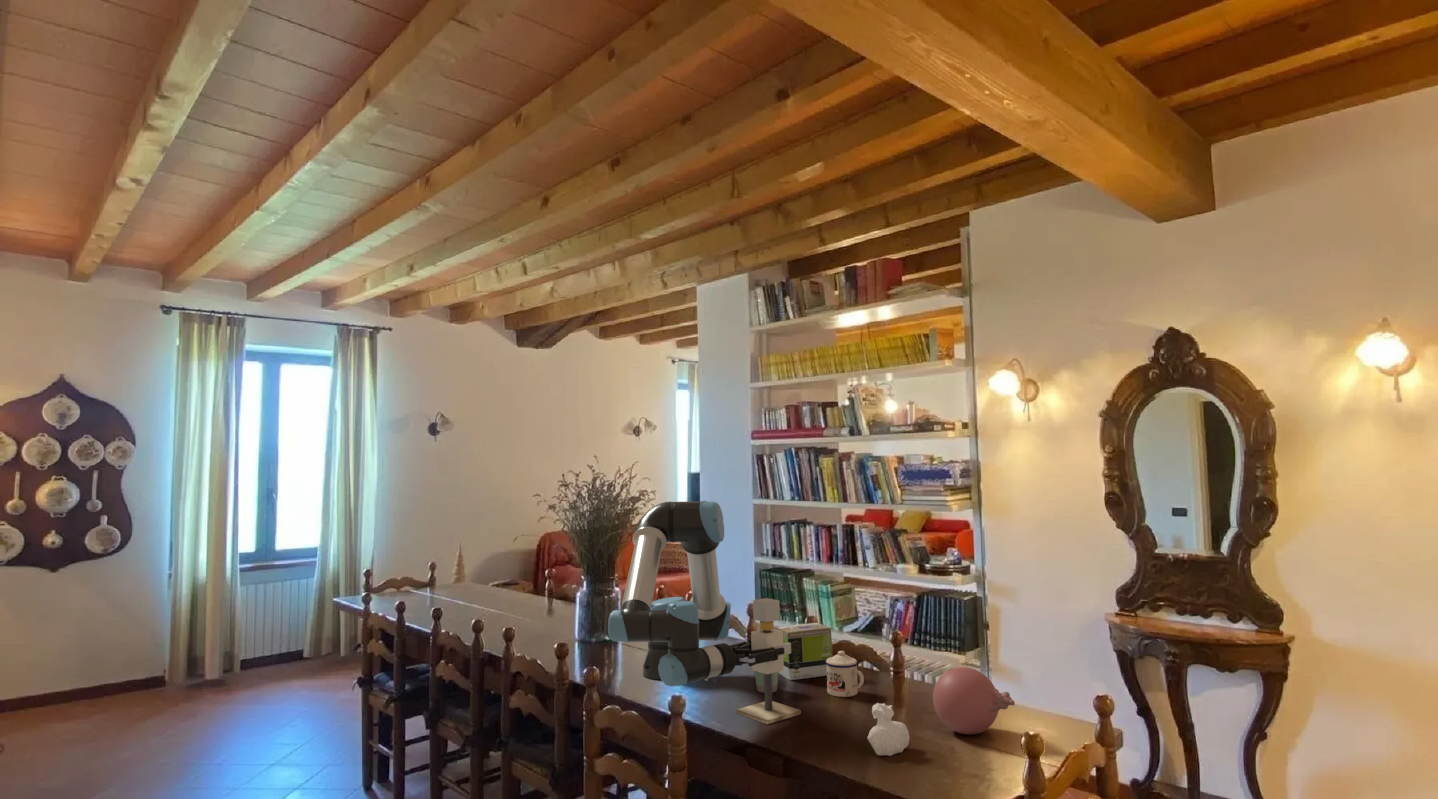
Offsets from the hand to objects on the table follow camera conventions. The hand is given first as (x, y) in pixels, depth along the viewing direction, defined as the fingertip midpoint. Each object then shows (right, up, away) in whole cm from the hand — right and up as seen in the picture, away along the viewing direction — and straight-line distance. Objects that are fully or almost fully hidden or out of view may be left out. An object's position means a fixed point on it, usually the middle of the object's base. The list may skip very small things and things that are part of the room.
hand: (781, 645), depth 212 cm
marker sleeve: (-4, -5, -4) cm, 8 cm away
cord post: (-4, -17, -5) cm, 18 cm away
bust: (+22, -14, -32) cm, 41 cm away
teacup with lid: (+20, -18, +12) cm, 29 cm away
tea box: (+10, -20, +33) cm, 40 cm away
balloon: (+45, -14, -23) cm, 53 cm away
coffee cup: (-3, -19, +17) cm, 25 cm away
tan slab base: (-4, -17, -5) cm, 18 cm away
